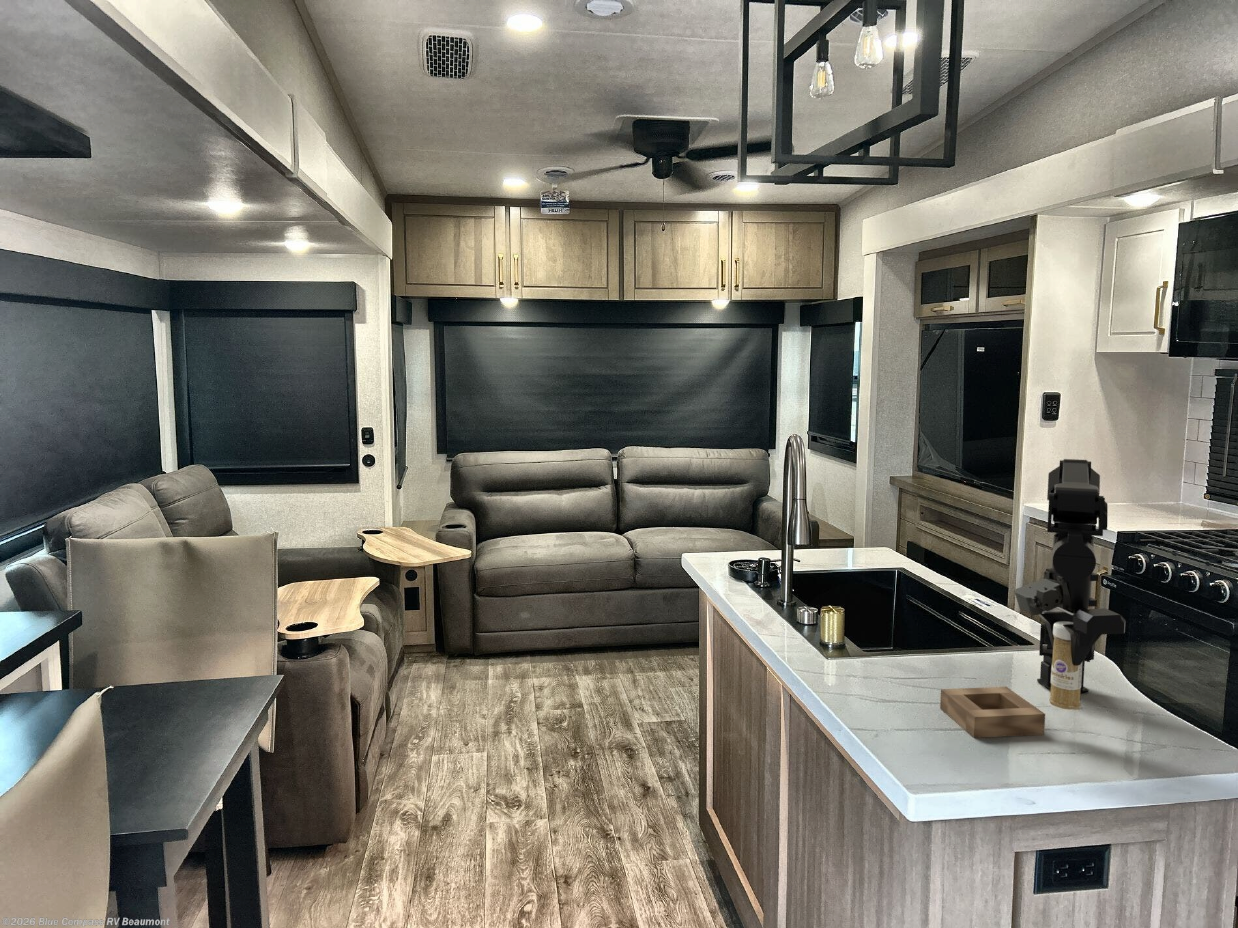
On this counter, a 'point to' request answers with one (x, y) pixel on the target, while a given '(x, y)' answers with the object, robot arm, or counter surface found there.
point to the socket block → (992, 712)
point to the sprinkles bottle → (1064, 671)
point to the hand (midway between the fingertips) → (1067, 659)
